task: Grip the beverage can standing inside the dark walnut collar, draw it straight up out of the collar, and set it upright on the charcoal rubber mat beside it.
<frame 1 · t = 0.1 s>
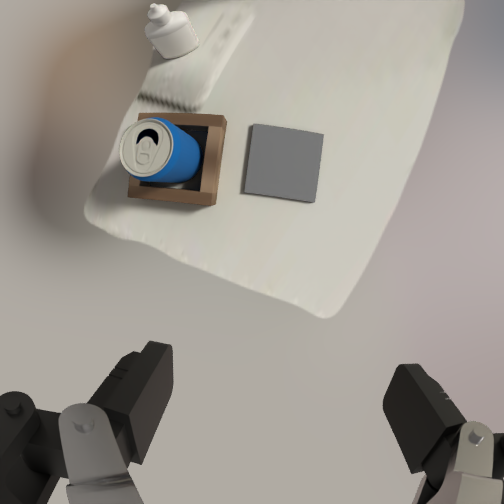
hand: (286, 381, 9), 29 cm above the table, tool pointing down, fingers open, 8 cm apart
walnut collar: (180, 158, 36), on the table
eye dropper bottle: (181, 48, 32), on the table
beverage can: (180, 159, 36), resting in walnut collar
rubber mat: (284, 162, 35), on the table
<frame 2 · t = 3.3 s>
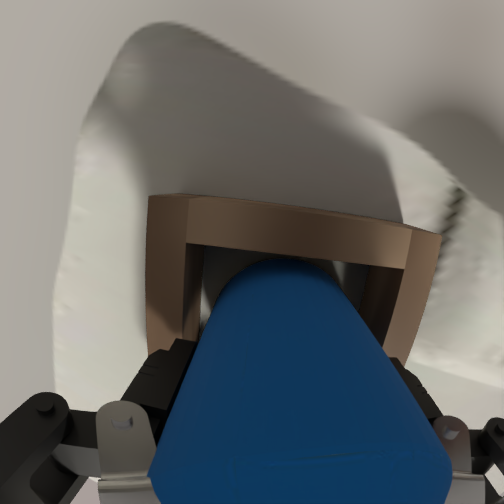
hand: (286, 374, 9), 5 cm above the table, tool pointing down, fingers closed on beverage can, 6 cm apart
walnut collar: (280, 318, 14), on the table
beverage can: (280, 316, 14), resting in walnut collar, touching gripper
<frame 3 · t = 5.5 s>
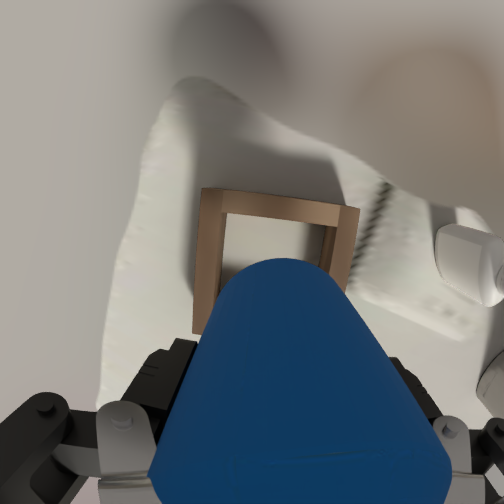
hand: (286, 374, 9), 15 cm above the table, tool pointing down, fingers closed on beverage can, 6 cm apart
walnut collar: (271, 262, 24), on the table
eye dropper bottle: (446, 251, 23), on the table
beverage can: (280, 315, 14), point 10 cm above the table, touching gripper
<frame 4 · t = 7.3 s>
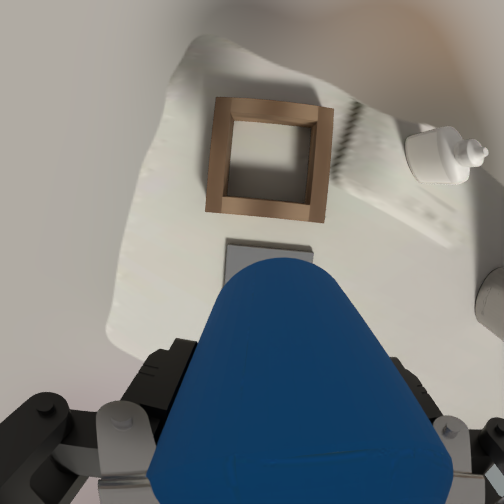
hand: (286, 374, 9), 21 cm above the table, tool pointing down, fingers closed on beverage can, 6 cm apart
walnut collar: (269, 160, 28), on the table
eye dropper bottle: (417, 159, 27), on the table
beverage can: (280, 315, 14), point 16 cm above the table, touching gripper
rubber mat: (266, 288, 31), on the table
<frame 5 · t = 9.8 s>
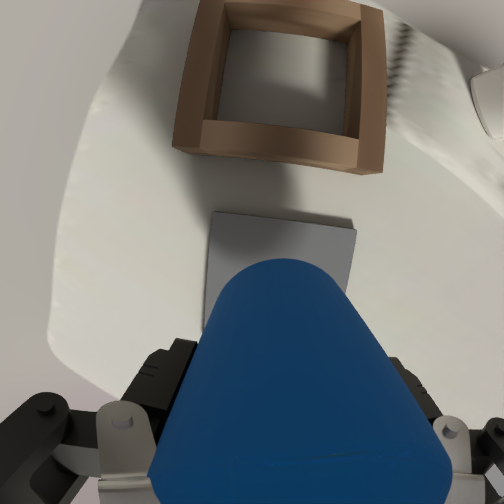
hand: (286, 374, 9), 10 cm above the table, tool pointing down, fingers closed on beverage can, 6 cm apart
walnut collar: (285, 81, 16), on the table
eye dropper bottle: (485, 109, 15), on the table
beverage can: (280, 316, 14), point 5 cm above the table, touching gripper
rubber mat: (276, 288, 19), on the table
when the fingers open (7 cm above the table, at t = 11.5 s): beverage can drops 1 cm, resting on rubber mat.
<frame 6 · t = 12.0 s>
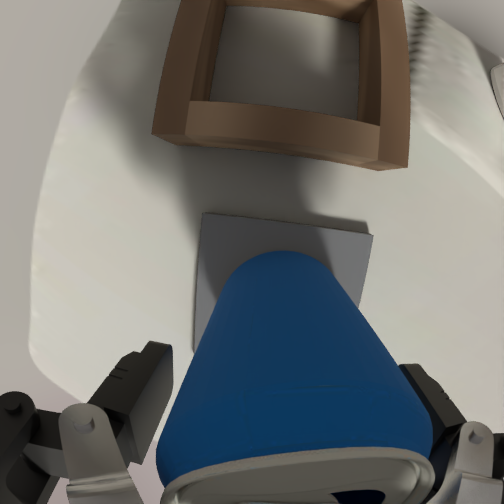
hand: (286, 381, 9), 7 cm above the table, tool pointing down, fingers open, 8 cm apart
walnut collar: (288, 61, 13), on the table
beverage can: (280, 304, 15), resting on rubber mat
rubber mat: (278, 302, 16), on the table
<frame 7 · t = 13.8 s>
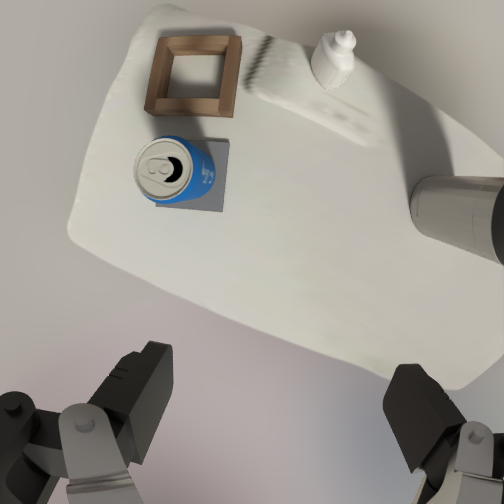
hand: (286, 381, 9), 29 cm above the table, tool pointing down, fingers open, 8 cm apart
walnut collar: (197, 79, 33), on the table
eye dropper bottle: (324, 73, 32), on the table
beverage can: (192, 174, 35), resting on rubber mat
rubber mat: (191, 174, 36), on the table
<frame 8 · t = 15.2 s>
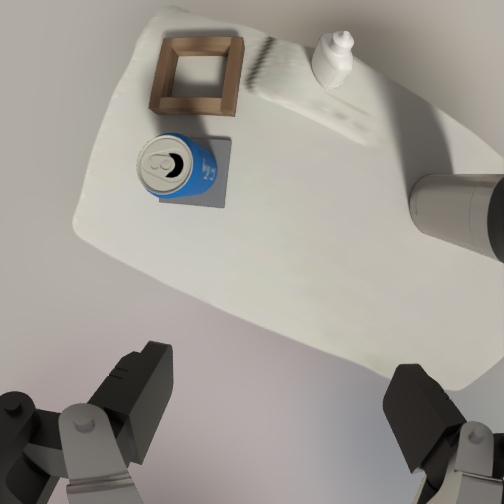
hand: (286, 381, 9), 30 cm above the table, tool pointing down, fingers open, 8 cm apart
walnut collar: (200, 79, 34), on the table
eye dropper bottle: (324, 73, 33), on the table
beverage can: (194, 171, 36), resting on rubber mat
rubber mat: (194, 171, 37), on the table
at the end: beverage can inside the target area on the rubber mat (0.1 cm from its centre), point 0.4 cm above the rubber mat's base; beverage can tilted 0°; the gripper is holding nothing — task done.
